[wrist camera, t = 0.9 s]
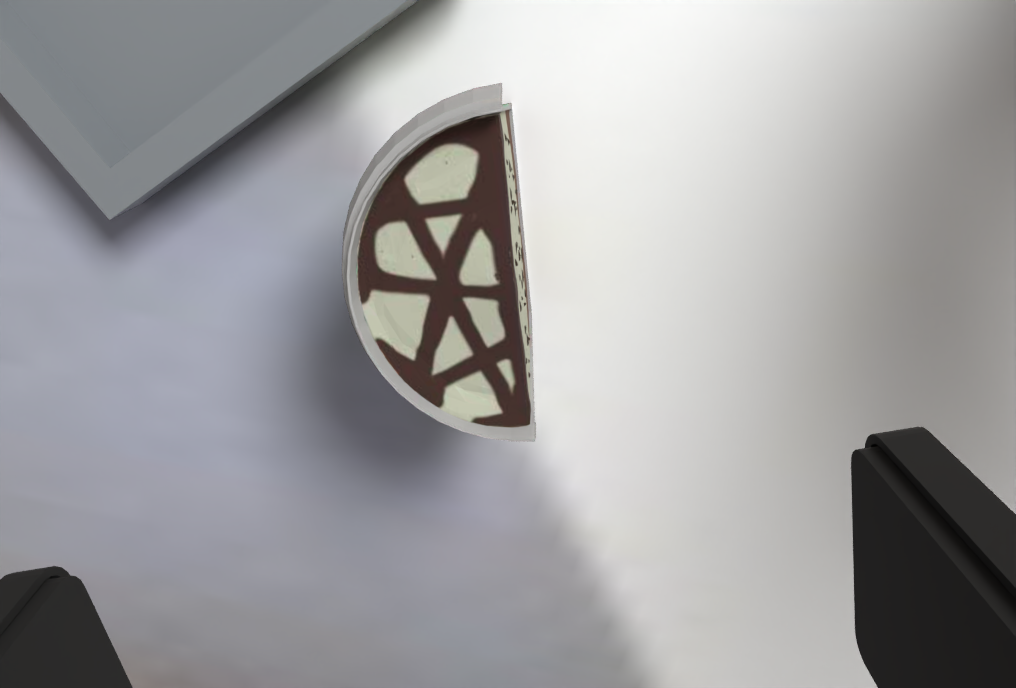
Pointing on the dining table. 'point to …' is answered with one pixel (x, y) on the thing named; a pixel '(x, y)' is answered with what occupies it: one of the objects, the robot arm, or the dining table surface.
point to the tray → (163, 77)
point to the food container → (446, 267)
